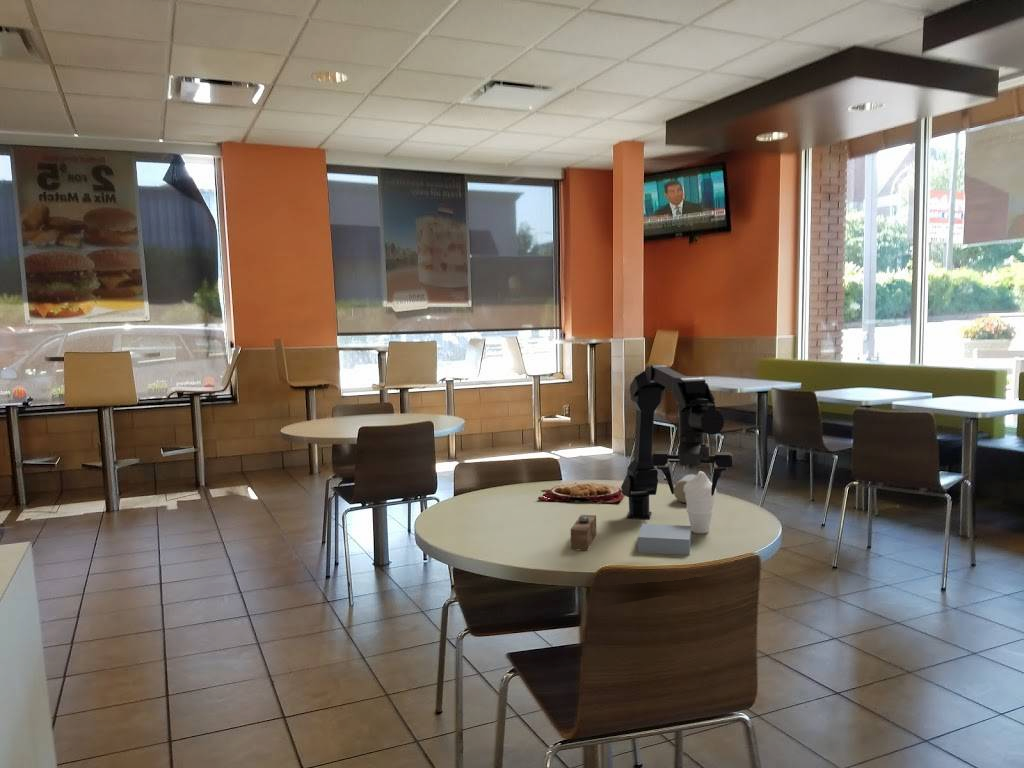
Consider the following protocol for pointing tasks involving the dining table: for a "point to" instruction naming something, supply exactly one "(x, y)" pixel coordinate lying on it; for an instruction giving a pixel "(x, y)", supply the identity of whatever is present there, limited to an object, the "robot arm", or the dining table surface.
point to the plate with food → (584, 493)
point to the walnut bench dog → (583, 532)
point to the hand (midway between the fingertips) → (692, 494)
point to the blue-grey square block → (664, 539)
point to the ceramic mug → (680, 486)
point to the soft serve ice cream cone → (699, 502)
